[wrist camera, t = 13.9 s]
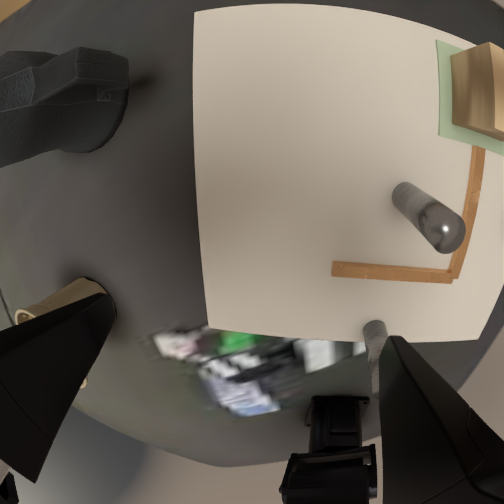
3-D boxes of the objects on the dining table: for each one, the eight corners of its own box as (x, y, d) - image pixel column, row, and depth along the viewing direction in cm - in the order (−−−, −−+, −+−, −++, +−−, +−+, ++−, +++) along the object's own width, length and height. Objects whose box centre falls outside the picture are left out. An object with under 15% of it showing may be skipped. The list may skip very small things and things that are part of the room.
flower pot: (121, 348, 29) (84, 400, 21) (63, 303, 28) (20, 345, 20) (139, 299, 24) (88, 362, 17) (69, 246, 24) (9, 290, 16)
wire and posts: (522, 219, 14) (569, 254, 8) (369, 341, 21) (380, 402, 15) (478, 113, 12) (538, 119, 6) (297, 263, 19) (292, 324, 14)
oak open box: (502, 141, 12) (545, 152, 7) (451, 124, 13) (494, 128, 8) (501, 78, 10) (543, 75, 5) (450, 55, 11) (489, 41, 6)
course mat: (476, 336, 20) (478, 340, 19) (210, 324, 24) (208, 329, 23) (529, 77, 9) (533, 77, 8) (196, 14, 13) (193, 11, 12)
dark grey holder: (58, 160, 20) (-41, 199, 10) (53, 71, 16) (-46, 78, 6) (166, 137, 17) (36, 167, 7) (161, 23, 14) (47, -24, 4)
